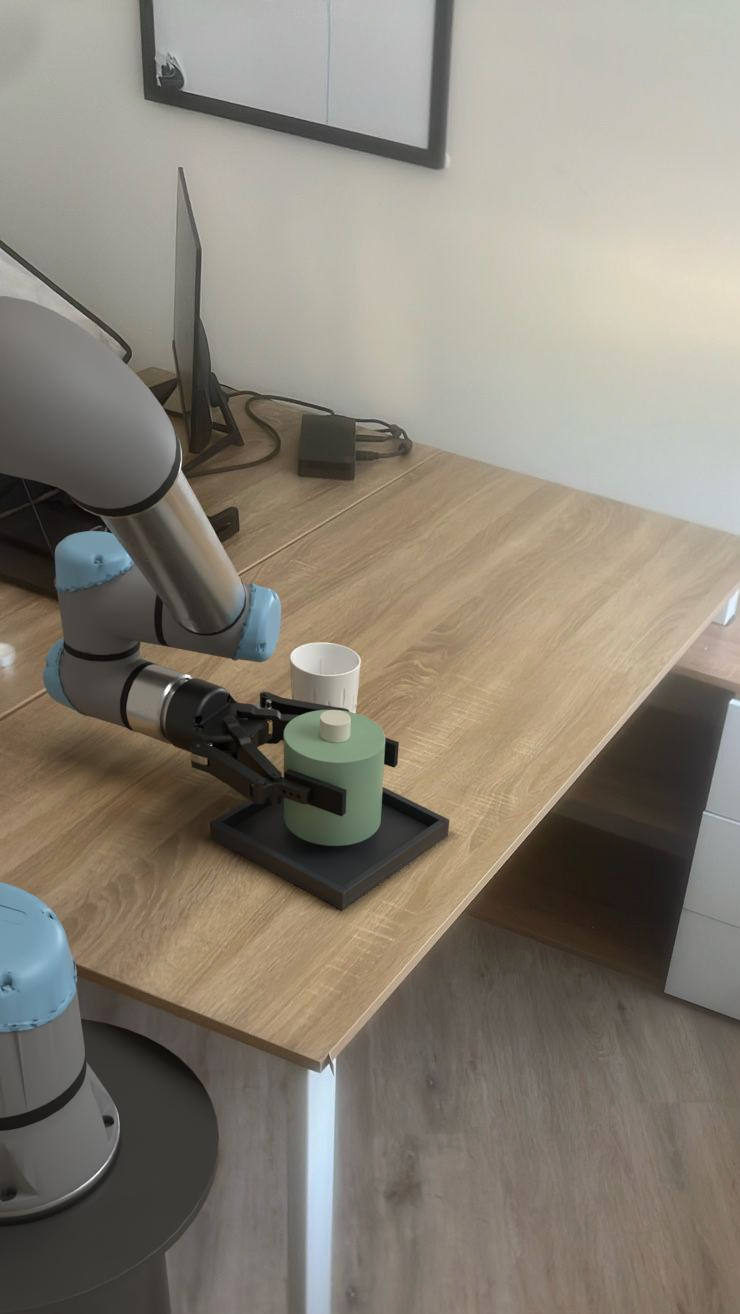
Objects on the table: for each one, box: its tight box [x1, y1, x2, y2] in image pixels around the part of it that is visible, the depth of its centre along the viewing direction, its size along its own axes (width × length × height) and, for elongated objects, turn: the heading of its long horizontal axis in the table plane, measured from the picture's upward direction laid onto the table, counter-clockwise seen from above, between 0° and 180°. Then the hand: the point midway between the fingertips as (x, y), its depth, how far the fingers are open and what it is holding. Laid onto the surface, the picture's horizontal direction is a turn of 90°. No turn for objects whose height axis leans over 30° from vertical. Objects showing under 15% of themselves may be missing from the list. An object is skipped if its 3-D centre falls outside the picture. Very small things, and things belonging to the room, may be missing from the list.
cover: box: [283, 710, 386, 846], centre depth 129 cm, size 10×10×12 cm
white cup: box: [289, 641, 362, 714], centre depth 146 cm, size 8×8×10 cm
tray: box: [209, 786, 450, 911], centre depth 134 cm, size 18×18×2 cm
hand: (371, 778), depth 128 cm, fingers closed on cover, 10 cm apart
